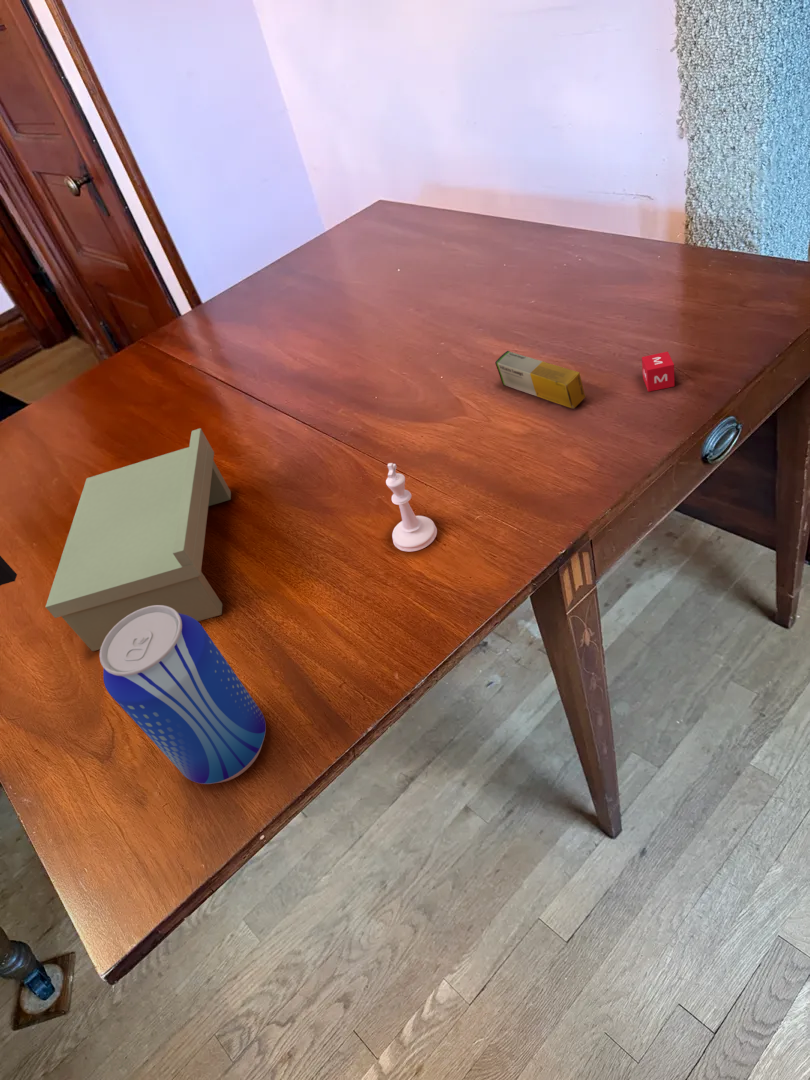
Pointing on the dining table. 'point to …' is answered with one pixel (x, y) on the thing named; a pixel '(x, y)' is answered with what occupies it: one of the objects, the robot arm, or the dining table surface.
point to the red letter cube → (658, 371)
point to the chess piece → (408, 517)
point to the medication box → (541, 379)
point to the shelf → (140, 542)
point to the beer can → (182, 694)
